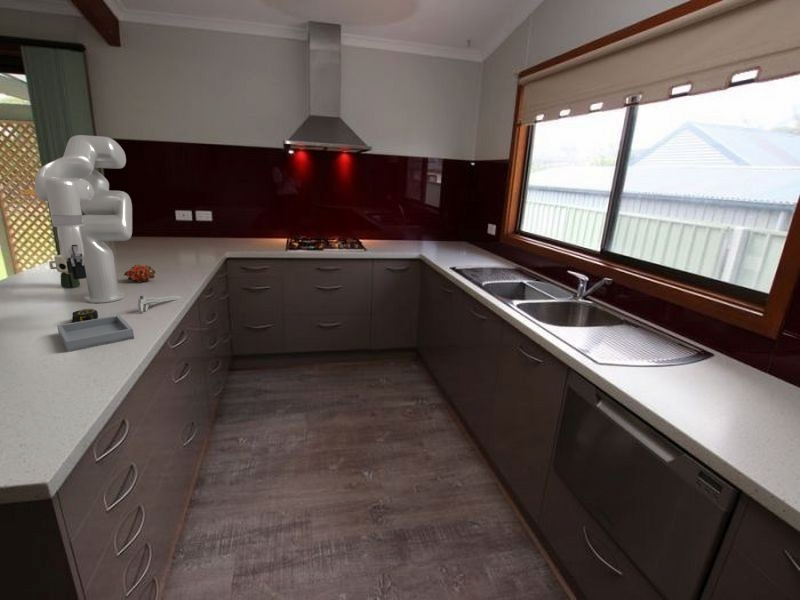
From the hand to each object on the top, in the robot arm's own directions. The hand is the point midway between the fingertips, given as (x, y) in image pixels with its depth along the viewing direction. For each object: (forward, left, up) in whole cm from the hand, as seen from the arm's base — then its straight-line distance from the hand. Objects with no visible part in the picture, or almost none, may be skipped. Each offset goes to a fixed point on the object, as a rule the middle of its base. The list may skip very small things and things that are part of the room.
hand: (77, 275), depth 132 cm
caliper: (-5, +24, -16) cm, 30 cm away
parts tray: (+16, 0, -16) cm, 22 cm away
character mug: (-50, +3, -16) cm, 53 cm away
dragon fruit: (-44, +27, -16) cm, 54 cm away
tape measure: (0, -1, -16) cm, 16 cm away
